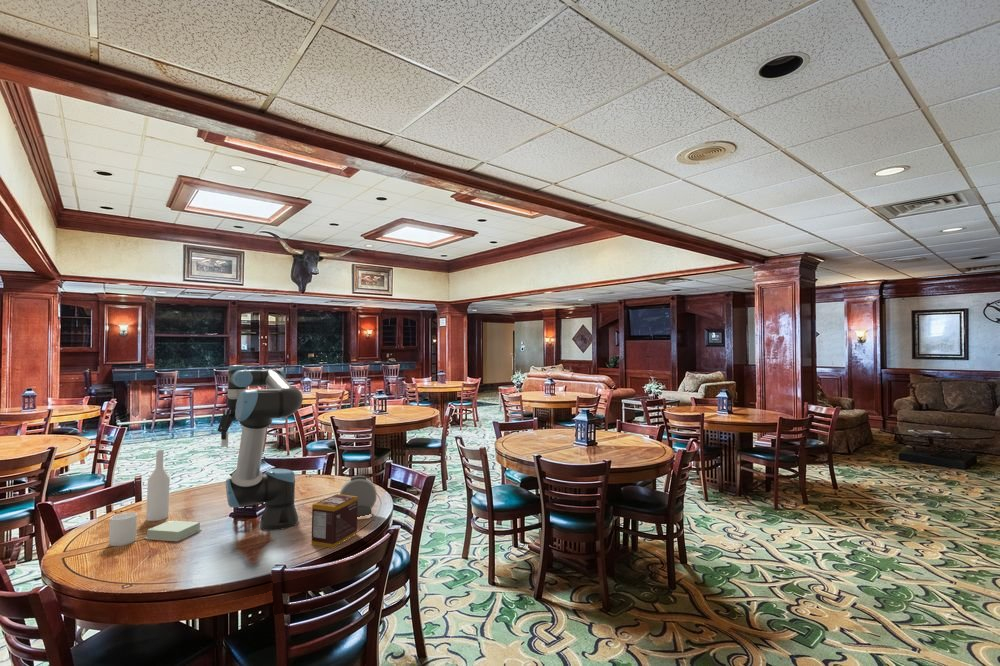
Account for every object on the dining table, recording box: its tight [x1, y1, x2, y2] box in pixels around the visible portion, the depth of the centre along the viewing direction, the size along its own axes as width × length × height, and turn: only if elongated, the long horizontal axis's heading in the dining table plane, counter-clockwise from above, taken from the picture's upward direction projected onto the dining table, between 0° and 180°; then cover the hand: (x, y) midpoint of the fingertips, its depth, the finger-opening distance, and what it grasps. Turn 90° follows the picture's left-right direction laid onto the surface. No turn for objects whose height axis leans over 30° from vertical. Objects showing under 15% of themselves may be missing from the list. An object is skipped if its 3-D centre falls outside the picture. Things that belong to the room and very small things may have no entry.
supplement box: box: [311, 493, 358, 549], centre depth 191 cm, size 10×15×16 cm
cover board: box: [146, 520, 201, 540], centre depth 195 cm, size 14×11×3 cm
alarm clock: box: [339, 474, 378, 517], centre depth 218 cm, size 16×10×18 cm, turn 108°
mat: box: [144, 528, 202, 542], centre depth 194 cm, size 15×12×1 cm
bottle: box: [145, 449, 171, 522], centre depth 214 cm, size 8×8×30 cm
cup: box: [108, 512, 138, 547], centre depth 188 cm, size 8×12×10 cm
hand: (235, 443), depth 223 cm, fingers open, 13 cm apart
